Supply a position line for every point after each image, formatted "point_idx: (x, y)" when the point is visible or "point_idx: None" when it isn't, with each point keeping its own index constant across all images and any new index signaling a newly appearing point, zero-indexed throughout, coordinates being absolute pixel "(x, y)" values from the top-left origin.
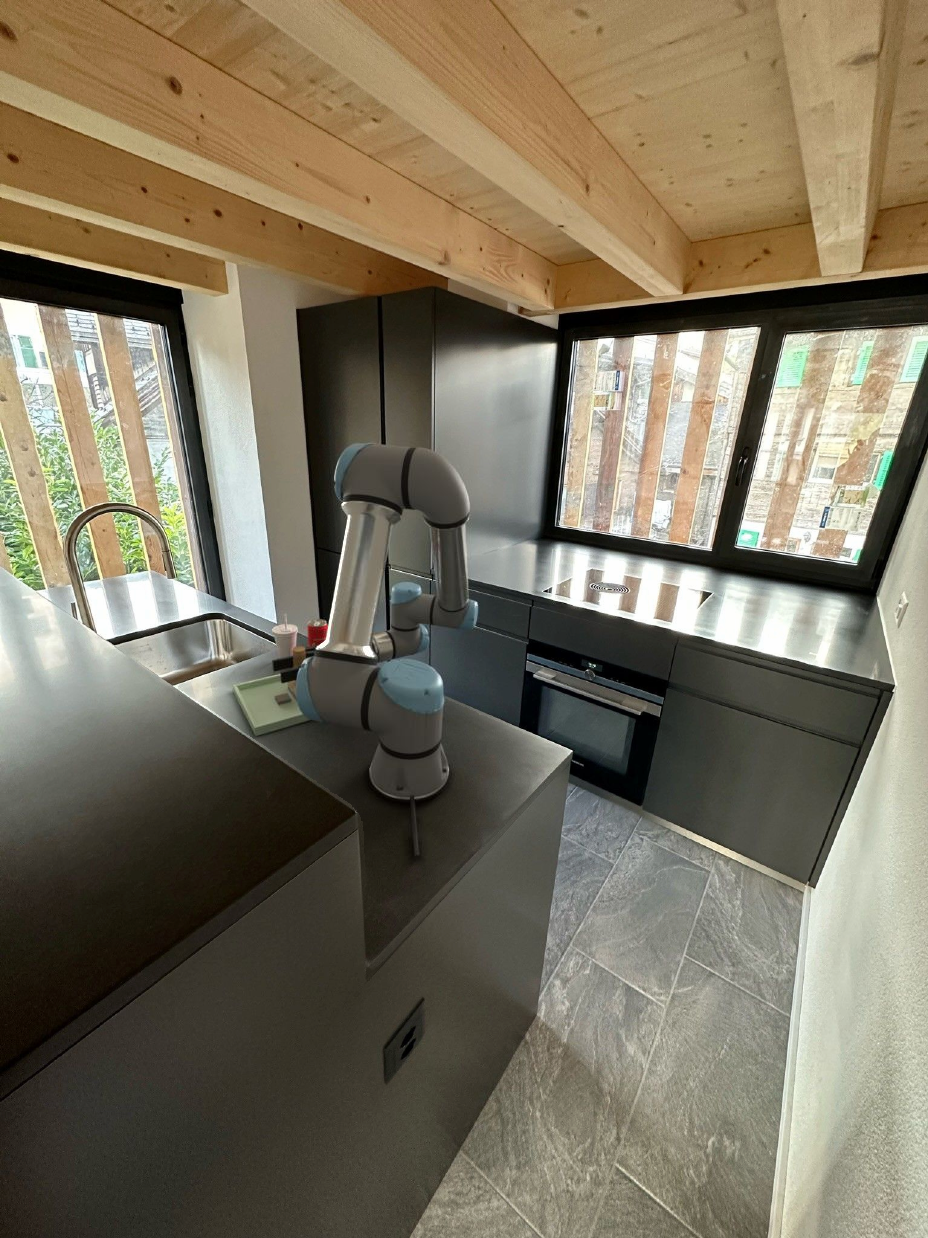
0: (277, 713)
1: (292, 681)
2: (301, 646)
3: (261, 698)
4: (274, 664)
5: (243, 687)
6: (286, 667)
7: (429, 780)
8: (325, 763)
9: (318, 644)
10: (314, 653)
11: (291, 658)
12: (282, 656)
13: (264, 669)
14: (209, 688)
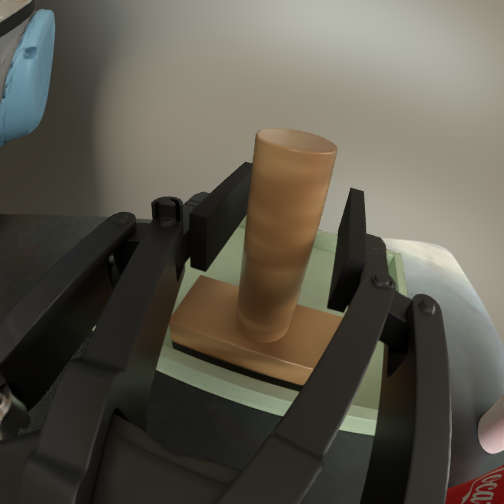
0: (226, 262)
1: (306, 313)
2: (316, 149)
3: (325, 279)
4: (346, 202)
5: (391, 272)
6: (336, 250)
7: None
8: (41, 229)
9: (500, 492)
10: (335, 331)
11: (347, 229)
12: (502, 396)
13: (472, 363)
14: (425, 258)
